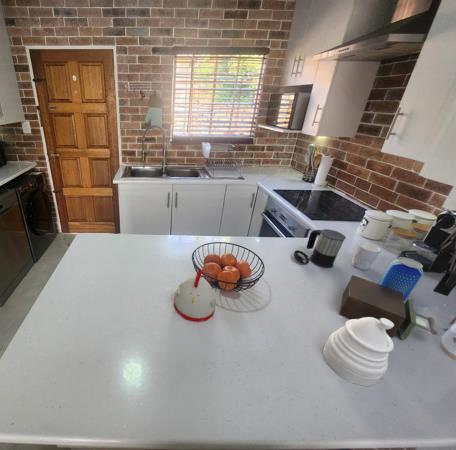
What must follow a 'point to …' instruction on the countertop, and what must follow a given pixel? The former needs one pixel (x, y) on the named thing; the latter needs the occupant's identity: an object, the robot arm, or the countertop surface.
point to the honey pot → (360, 350)
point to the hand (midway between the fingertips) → (437, 281)
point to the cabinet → (373, 303)
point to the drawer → (414, 321)
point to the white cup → (365, 255)
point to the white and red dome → (195, 299)
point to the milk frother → (322, 248)
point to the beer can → (402, 275)
